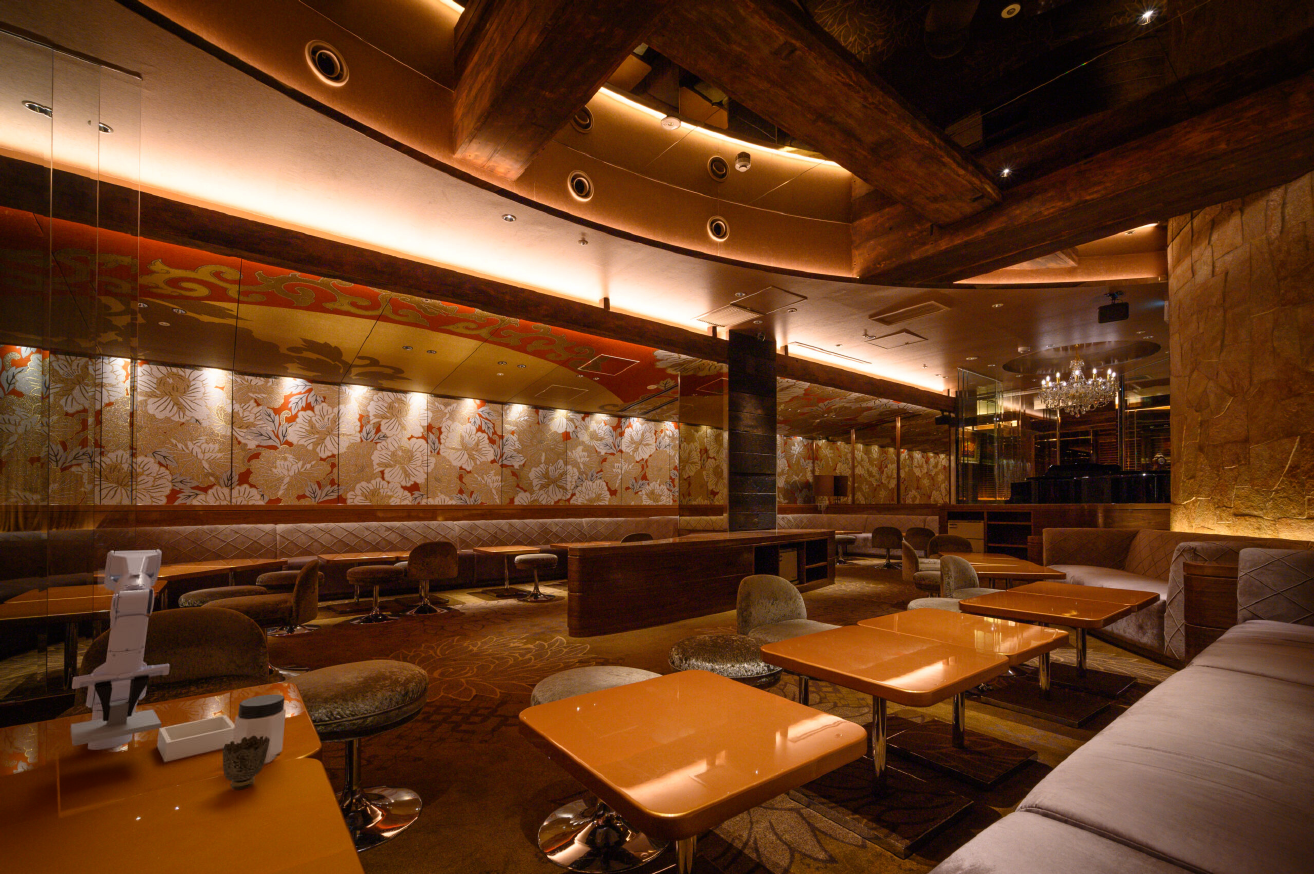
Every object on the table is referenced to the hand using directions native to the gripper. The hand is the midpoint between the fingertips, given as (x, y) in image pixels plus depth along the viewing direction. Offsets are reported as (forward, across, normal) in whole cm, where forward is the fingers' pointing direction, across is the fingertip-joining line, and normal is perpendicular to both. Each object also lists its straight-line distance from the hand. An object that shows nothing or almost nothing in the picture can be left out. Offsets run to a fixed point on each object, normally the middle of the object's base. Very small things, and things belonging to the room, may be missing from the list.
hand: (117, 717), depth 115 cm
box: (+10, +14, +2) cm, 17 cm away
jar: (+11, +22, -14) cm, 28 cm away
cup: (+11, +17, -27) cm, 34 cm away
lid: (+2, 0, 0) cm, 2 cm away
